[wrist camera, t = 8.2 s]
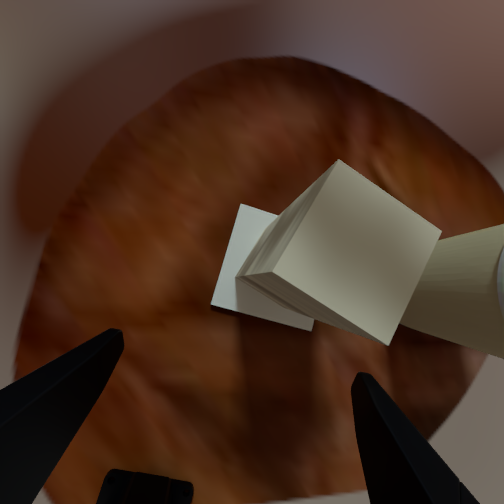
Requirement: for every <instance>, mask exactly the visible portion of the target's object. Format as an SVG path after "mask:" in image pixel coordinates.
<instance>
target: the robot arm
mask: <svg viewBox="0 0 504 504" xmlns="http://www.w3.org/2000/svg"><path fill="white" fill-rule="evenodd" d="M123 350H124V339H123V333H122V331H121V330H120V329H114V328H110V329H108V330H106V331H104V332H102V333H101V334H99V335H97V336H95V337H94V338H92V339H90V340H88V341H86V342H85V343H83V344H81V345H79V346H78V347H76V348H74V349H72V350H70V351H69V352H67V353H65V354H63V355H62V356H60V357H58V358H56V359H54V360H53V361H51V362H49V363H47V364H46V365H44V366H42V367H40V368H38V369H37V370H35V371H33V372H31V373H29V374H28V375H26V376H24V377H22V378H21V379H19V380H17V381H15V382H13V383H12V384H10V385H8V386H6V387H5V388H3V389H1V390H0V504H32V503H33V501H34V499H35V498H36V496H37V495H38V493H39V491H40V490H41V488H42V487H43V485H44V484H45V482H46V480H47V479H48V477H49V476H50V474H51V472H52V471H53V469H54V468H55V466H56V465H57V463H58V461H59V460H60V458H61V457H62V455H63V453H64V452H65V450H66V449H67V447H68V445H69V444H70V442H71V441H72V439H73V438H74V436H75V434H76V433H77V431H78V430H79V428H80V426H81V425H82V423H83V422H84V420H85V418H86V417H87V415H88V414H89V412H90V411H91V409H92V407H93V406H94V404H95V403H96V401H97V399H98V398H99V396H100V395H101V393H102V391H103V389H104V388H105V386H106V384H107V382H108V380H109V378H110V376H111V374H112V372H113V370H114V368H115V366H116V364H117V362H118V360H119V358H120V356H121V354H122V352H123ZM351 397H352V406H353V415H354V423H355V432H356V439H357V444H358V449H359V453H360V458H361V463H362V467H363V472H364V476H365V481H366V486H367V490H368V495H369V499H370V504H480V503H479V502H478V501H477V500H476V499H475V498H474V496H473V495H472V494H471V493H470V491H469V490H468V489H467V488H466V487H465V486H464V484H463V483H462V482H460V481H459V478H458V477H457V476H456V475H455V474H454V473H453V471H452V470H451V469H450V468H449V467H448V465H447V464H446V463H445V462H444V461H443V459H442V458H441V457H440V456H439V455H438V454H437V452H436V451H435V450H434V449H433V448H432V446H431V445H430V444H429V443H428V442H427V440H426V439H425V438H424V437H423V436H422V434H421V433H420V432H419V431H418V430H417V429H416V427H415V426H414V425H413V424H412V423H411V421H410V420H409V419H408V418H407V417H406V415H405V414H404V413H403V412H402V411H401V409H400V408H399V407H398V406H397V405H396V404H395V402H394V401H393V400H392V399H391V398H390V396H389V395H388V394H387V393H386V392H385V390H384V389H383V388H382V387H381V386H380V385H379V383H378V382H377V381H376V380H375V379H374V377H373V376H372V375H371V374H369V373H364V372H358V373H357V375H356V377H355V379H354V381H353V384H352V386H351ZM110 477H114V478H115V480H111V479H110ZM187 489H188V490H189V492H187V493H185V492H184V490H187ZM192 496H193V484H192V483H191V482H187V481H182V480H176V479H170V478H169V477H164V476H158V475H152V474H147V473H141V472H130V471H125V470H119V469H112V470H110V471H109V472H108V473H107V475H106V477H105V479H104V481H103V484H102V487H101V490H100V493H99V496H98V499H97V503H96V504H190V503H191V499H192Z"/></svg>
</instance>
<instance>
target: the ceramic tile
mask: <svg viewBox="0 0 504 504" xmlns="http://www.w3.org/2000/svg"><path fill="white" fill-rule="evenodd" d="M277 217H278V215H274V214H271V213H268V212H265V211H262V210H259V209H256V208H253V207H250V206H247V205H244V204H240V207H239V211H238V214H237V217H236V221H235V224H234V228H233V231H232V234H231V238H230V241H229V244H228V248H227V251H226V254H225V258H224V261H223V265H222V268H221V271H220V275H219V278H218V281H217V285H216V288H215V291H214V295H213V298H212V302H211V305H215V306H219V307H222V308H226V309H230V310H234V311H237V312H241V313H245V314H248V315H252V316H256V317H260V318H263V319H267V320H271V321H274V322H278V323H282V324H286V325H289V326H293V327H297V328H300V329H304V330H308V331H312V327H313V323H314V319H313V318H310V317H308V316H305V315H302V314H300V313H297V312H294V311H291V310H289V309H286V308H283V307H282V306H280V305H279V304H277V303H275V302H274V301H272V300H271V299H269V298H268V297H266V296H264V295H263V294H261V293H260V292H258V291H256V290H255V289H253V288H252V287H250V286H248V285H247V284H245V283H244V282H242V281H240V280H239V279H237V278H236V277H235V276H236V274H237V273H238V271H239V270H240V268H241V266H242V265H243V263H244V262H245V260H246V258H247V257H248V255H249V254H250V252H251V250H252V249H253V247H254V246H255V244H256V242H257V241H258V239H259V238H260V236H261V234H262V233H263V231H264V229H265V228H266V227H267V226H268V225H269V224H270V223H272V222H273V221H274V220H275V219H276V218H277Z"/></svg>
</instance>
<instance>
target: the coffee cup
mask: <svg viewBox="0 0 504 504" xmlns="http://www.w3.org/2000/svg"><path fill="white" fill-rule="evenodd" d="M399 323H400V324H402V325H404V326H407V327H409V328H412V329H415V330H417V331H420V332H423V333H426V334H430V335H433V336H436V337H439V338H442V339H445V340H448V341H451V342H454V343H457V344H460V345H463V346H466V347H469V348H472V349H475V350H478V351H481V352H484V353H487V354H490V355H494V356H497V357H500V358H503V359H504V224H502V225H498V226H494V227H490V228H486V229H482V230H478V231H474V232H470V233H466V234H462V235H458V236H454V237H450V238H447V239H443V240H439V241H437V243H436V245H435V247H434V249H433V251H432V254H431V256H430V258H429V260H428V262H427V264H426V266H425V269H424V271H423V273H422V275H421V277H420V279H419V281H418V284H417V286H416V288H415V290H414V292H413V294H412V296H411V299H410V301H409V303H408V305H407V307H406V309H405V311H404V314H403V316H402V318H401V320H400V322H399Z"/></svg>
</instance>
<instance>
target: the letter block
mask: <svg viewBox="0 0 504 504" xmlns="http://www.w3.org/2000/svg"><path fill="white" fill-rule="evenodd" d="M441 232H442V231H441V230H439V229H438V228H436V227H435V226H434V225H432V224H431V223H429V222H428V221H426V220H425V219H424V218H422V217H421V216H419V215H418V214H416V213H415V212H413V211H412V210H411V209H409V208H408V207H406V206H405V205H403V204H402V203H401V202H399V201H398V200H396V199H395V198H393V197H392V196H391V195H389V194H388V193H386V192H385V191H383V190H382V189H381V188H379V187H378V186H376V185H375V184H373V183H372V182H371V181H369V180H368V179H366V178H365V177H363V176H362V175H361V174H359V173H358V172H356V171H355V170H353V169H352V168H351V167H349V166H348V165H346V164H345V163H343V162H342V161H341V160H338V161H336V162H335V163H334V164H333V165H332V166H331V167H330V168H329V169H328V170H327V171H326V172H325V173H324V174H323V175H322V176H320V177H319V178H318V179H317V180H316V181H315V182H314V183H313V184H312V185H311V186H310V187H309V188H308V189H307V190H306V191H305V192H303V193H302V194H301V195H300V196H299V197H298V198H297V199H296V200H295V201H294V202H293V203H292V204H291V205H290V206H289V207H288V208H286V209H285V210H284V211H283V212H282V213H281V214H280V215H279V216H278V217H277V218H276V219H275V220H274V221H273V222H272V223H270V224H269V225H268V226H267V227H266V228H265V229H264V231H263V233H262V234H261V236H260V238H259V239H258V241H257V242H256V244H255V246H254V247H253V249H252V250H251V252H250V254H249V255H248V257H247V258H246V260H245V262H244V263H243V265H242V266H241V268H240V270H239V271H238V273H237V274H236V276H235V277H236V278H237V279H239V280H240V281H242V282H244V283H245V284H247V285H248V286H250V287H252V288H253V289H255V290H256V291H258V292H260V293H261V294H263V295H264V296H266V297H268V298H269V299H271V300H272V301H274V302H275V303H277V304H279V305H280V306H282V307H283V308H286V309H289V310H291V311H294V312H297V313H300V314H302V315H305V316H308V317H310V318H313V319H316V320H319V321H321V322H324V323H327V324H330V325H332V326H335V327H338V328H341V329H343V330H346V331H349V332H352V333H354V334H357V335H360V336H363V337H365V338H368V339H371V340H374V341H376V342H379V343H382V344H384V345H387V346H389V344H390V341H391V339H392V337H393V335H394V333H395V331H396V329H397V326H398V324H399V322H400V320H401V318H402V316H403V314H404V311H405V309H406V307H407V305H408V303H409V301H410V299H411V296H412V294H413V292H414V290H415V288H416V286H417V284H418V281H419V279H420V277H421V275H422V273H423V271H424V269H425V266H426V264H427V262H428V260H429V258H430V256H431V254H432V251H433V249H434V247H435V245H436V243H437V241H438V239H439V236H440V234H441Z"/></svg>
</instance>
